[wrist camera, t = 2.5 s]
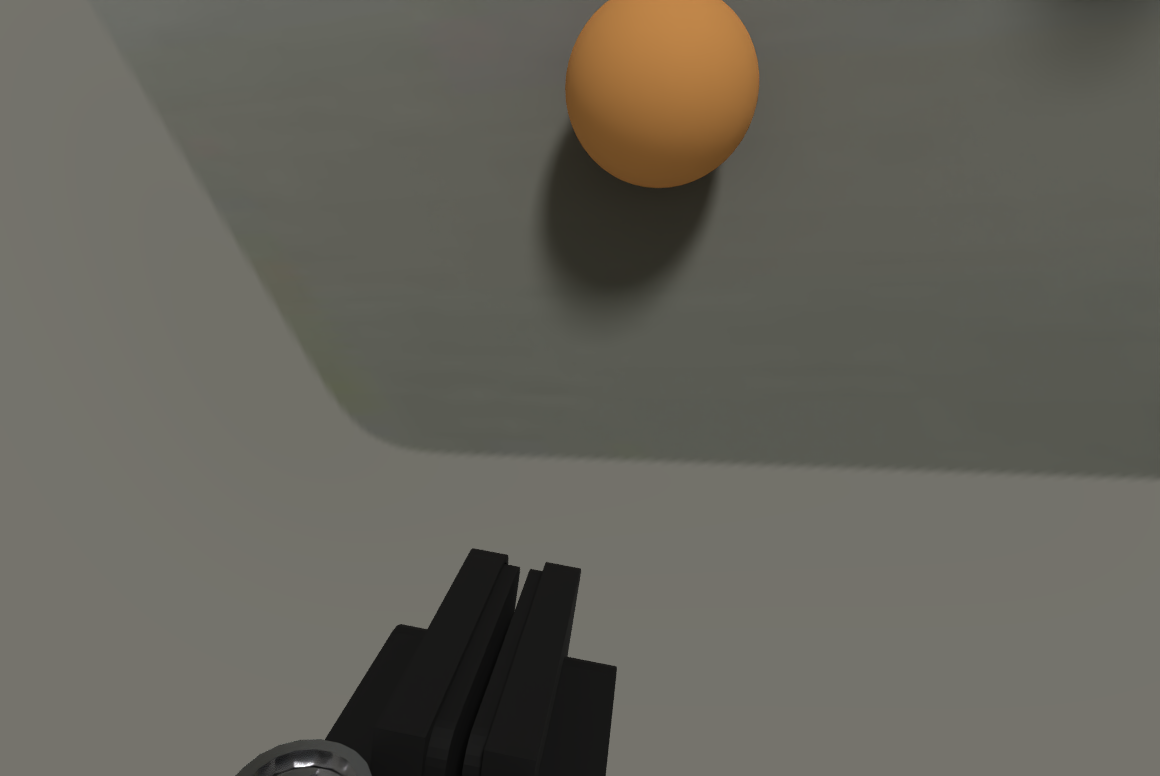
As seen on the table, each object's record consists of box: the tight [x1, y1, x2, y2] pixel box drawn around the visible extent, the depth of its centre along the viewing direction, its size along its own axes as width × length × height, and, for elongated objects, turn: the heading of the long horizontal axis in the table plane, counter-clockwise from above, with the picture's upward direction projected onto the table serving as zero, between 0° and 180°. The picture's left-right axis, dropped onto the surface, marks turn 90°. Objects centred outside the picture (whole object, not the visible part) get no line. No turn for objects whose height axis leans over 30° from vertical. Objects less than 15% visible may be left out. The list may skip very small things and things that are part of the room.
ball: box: [565, 0, 759, 188], centre depth 22 cm, size 6×6×6 cm
